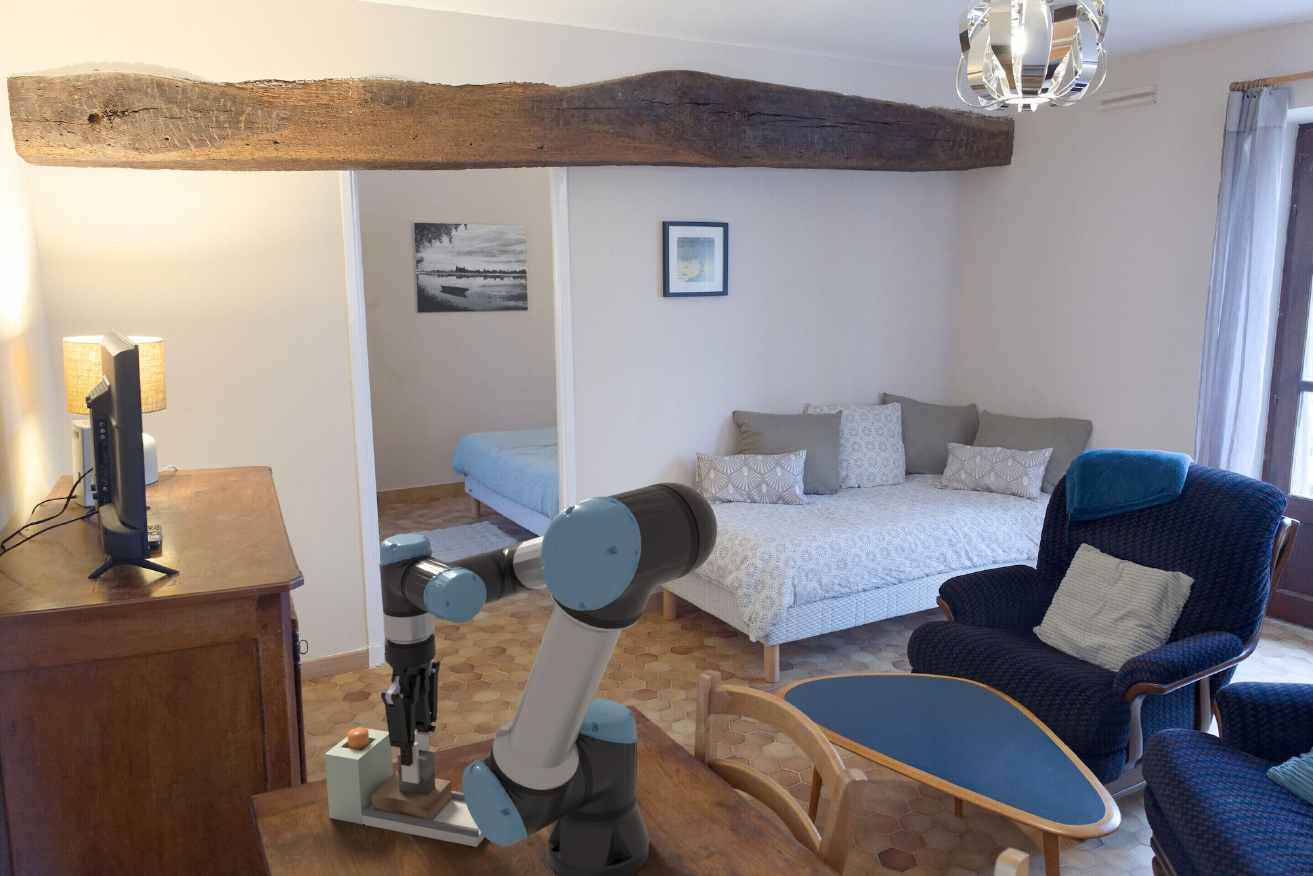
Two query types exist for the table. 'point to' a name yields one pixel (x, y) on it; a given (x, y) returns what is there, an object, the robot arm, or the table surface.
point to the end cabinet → (357, 775)
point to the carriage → (414, 791)
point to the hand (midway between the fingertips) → (416, 775)
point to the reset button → (358, 739)
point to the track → (432, 822)
